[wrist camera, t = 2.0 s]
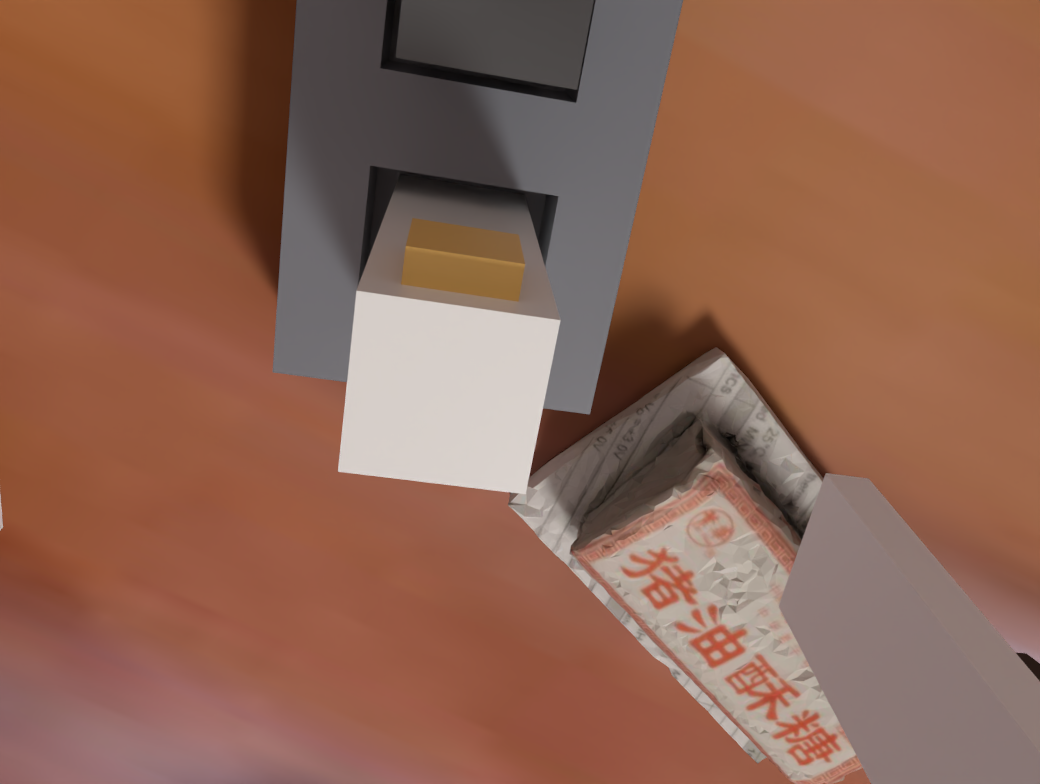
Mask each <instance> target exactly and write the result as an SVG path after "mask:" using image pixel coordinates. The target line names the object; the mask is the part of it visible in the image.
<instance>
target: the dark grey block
mask: <svg viewBox="0 0 1040 784" xmlns="http://www.w3.org/2000/svg"><path fill="white" fill-rule="evenodd" d="M593 3H594V0H402V2H401V12H400V21H399V30H398V39H397V48H396V58H400V59H406V60H411V61H417V62H423V63H428V64H434V65H439V66H445V67H451V68H456V69H462V70H468V71H473V72H479V73H485V74H490V75H496V76H501V77H507V78H513V79H518V80H524V81H530V82H535V83H541V84H546V85H552V86H558V87H563V88H569V89H575V90H577V88H578V82H579V77H580V72H581V66H582V61H583V56H584V50H585V45H586V40H587V34H588V29H589V24H590V18H591V13H592V8H593Z"/></svg>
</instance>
